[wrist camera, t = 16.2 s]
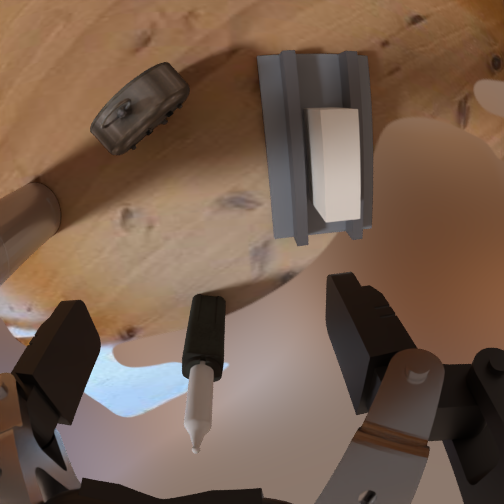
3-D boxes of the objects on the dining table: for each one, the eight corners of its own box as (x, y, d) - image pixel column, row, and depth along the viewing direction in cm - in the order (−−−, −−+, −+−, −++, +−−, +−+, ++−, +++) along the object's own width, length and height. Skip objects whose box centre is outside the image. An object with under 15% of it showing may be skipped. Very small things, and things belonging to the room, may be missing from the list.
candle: (226, 297, 48) (223, 444, 25) (222, 322, 50) (219, 464, 28) (193, 293, 47) (169, 438, 25) (191, 319, 49) (171, 459, 27)
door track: (273, 235, 44) (277, 248, 40) (256, 57, 33) (258, 52, 29) (368, 225, 44) (379, 236, 40) (364, 56, 33) (376, 53, 29)
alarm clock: (177, 66, 33) (139, 43, 18) (203, 97, 35) (181, 92, 20) (113, 124, 35) (47, 141, 21) (138, 153, 38) (84, 185, 23)
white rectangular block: (309, 200, 41) (325, 222, 33) (303, 108, 35) (320, 109, 28) (338, 197, 41) (360, 218, 33) (334, 107, 35) (358, 109, 28)
